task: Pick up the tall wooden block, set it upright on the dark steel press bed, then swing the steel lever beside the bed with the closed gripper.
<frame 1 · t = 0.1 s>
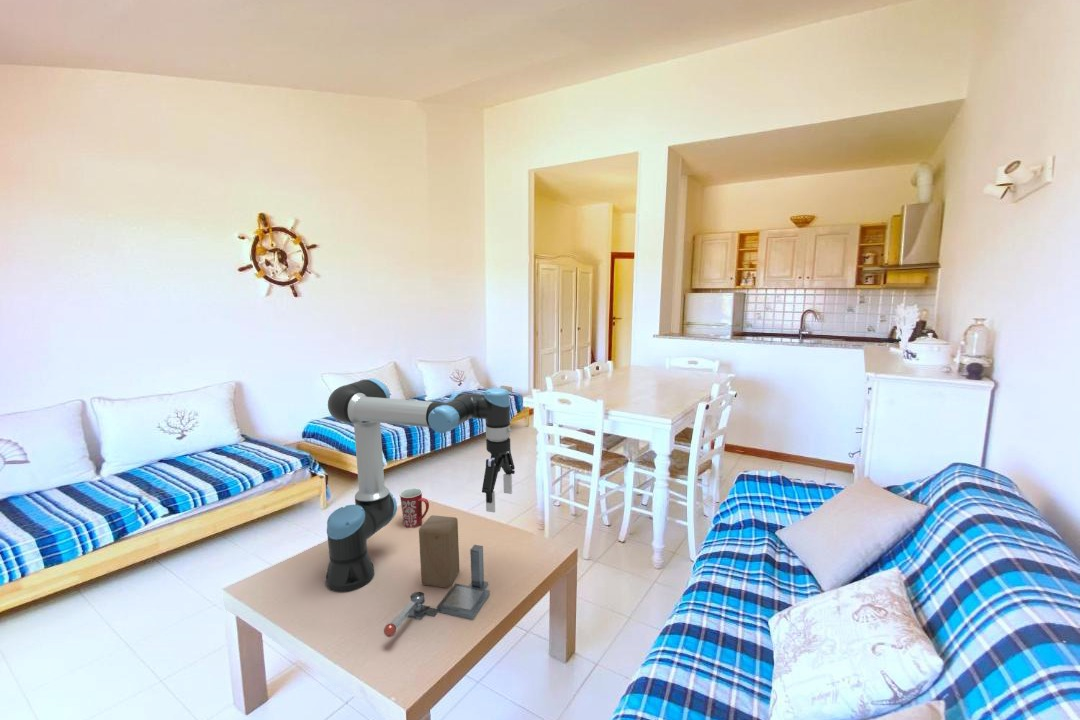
hand: (499, 501, 153), 28 cm above the table, fingers open, 13 cm apart
lever: (404, 613, 136), point 5 cm above the table, hinge at 0.0°
wooden block: (441, 578, 159), on the table
mug: (416, 524, 195), on the table
press bed: (463, 602, 147), on the table
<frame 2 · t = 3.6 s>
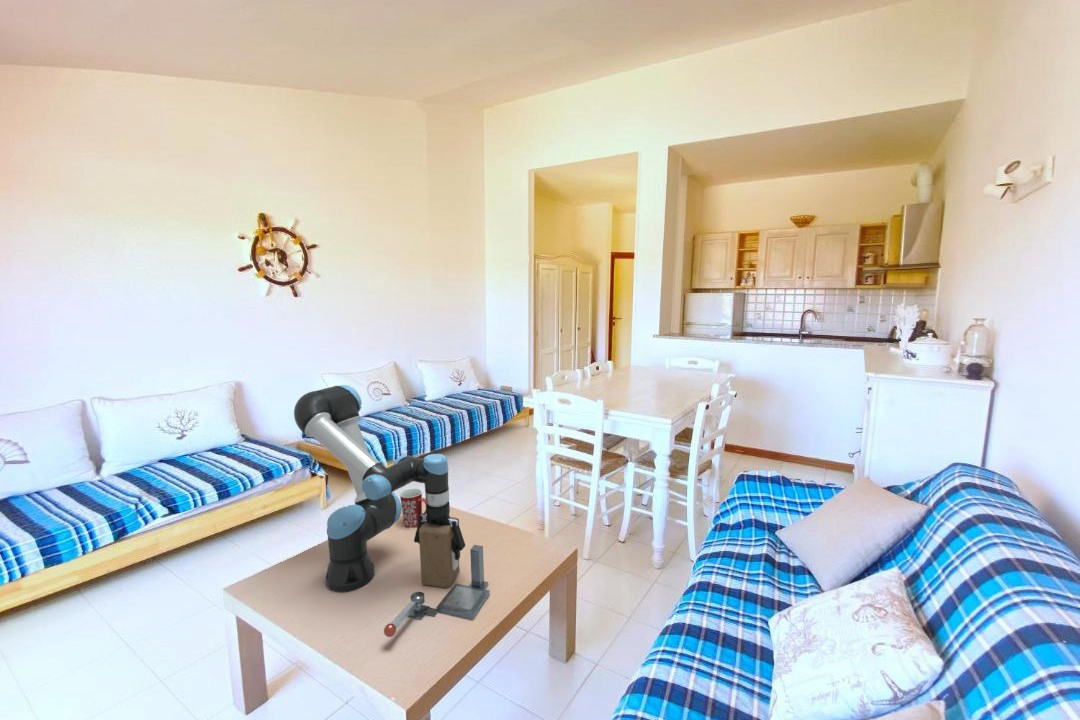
hand: (440, 564, 158), 5 cm above the table, fingers closed on wooden block, 10 cm apart
wooden block: (441, 578, 159), on the table, touching gripper
everything else where it was.
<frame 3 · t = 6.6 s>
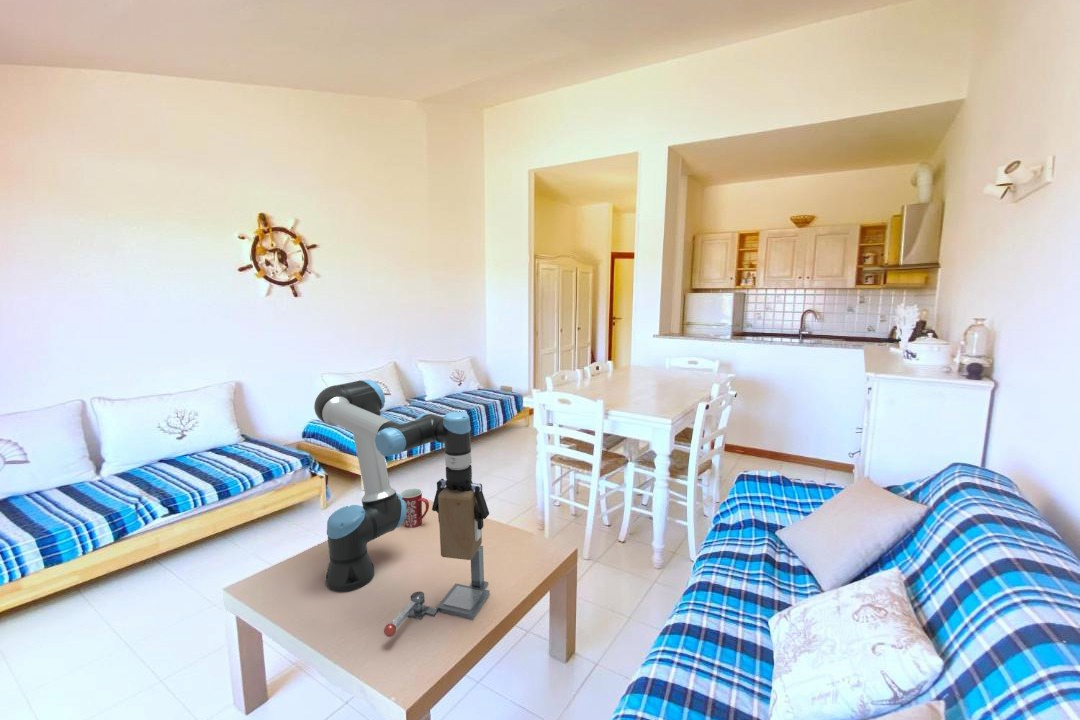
hand: (461, 535, 143), 22 cm above the table, fingers closed on wooden block, 10 cm apart
wooden block: (461, 551, 144), point 17 cm above the table, touching gripper
everything else where it was.
when the fingers open (8 cm above the table, at t = 9.7 s): wooden block moves 1 cm, resting on press bed.
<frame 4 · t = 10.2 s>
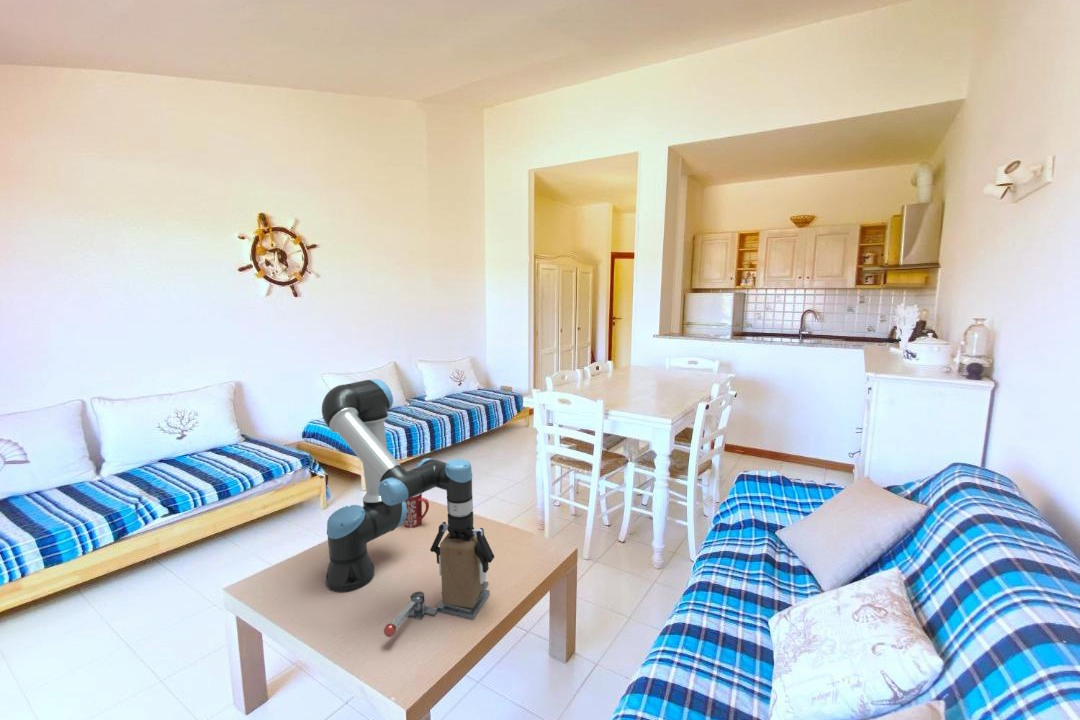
hand: (462, 577, 145), 9 cm above the table, fingers open, 13 cm apart
wooden block: (463, 597, 147), point 2 cm above the table, touching press bed
everything else where it was.
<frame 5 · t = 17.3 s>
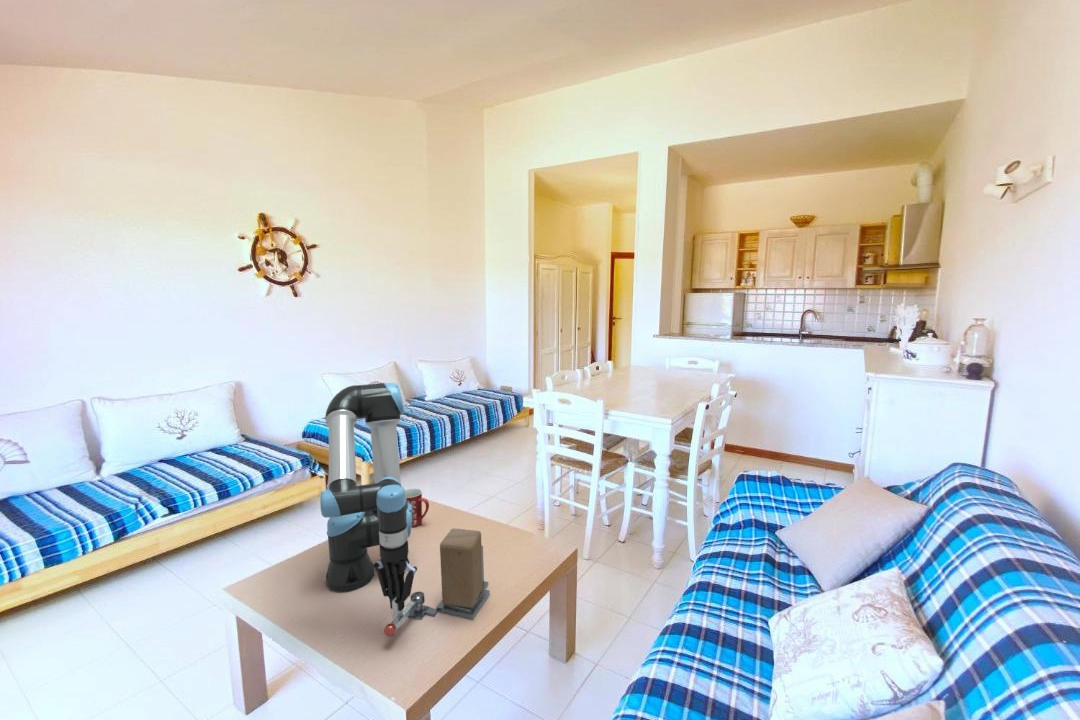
hand: (398, 619, 135), 3 cm above the table, fingers closed
lever: (404, 613, 136), point 4 cm above the table, hinge at 0.0°, touching gripper
everything else where it was.
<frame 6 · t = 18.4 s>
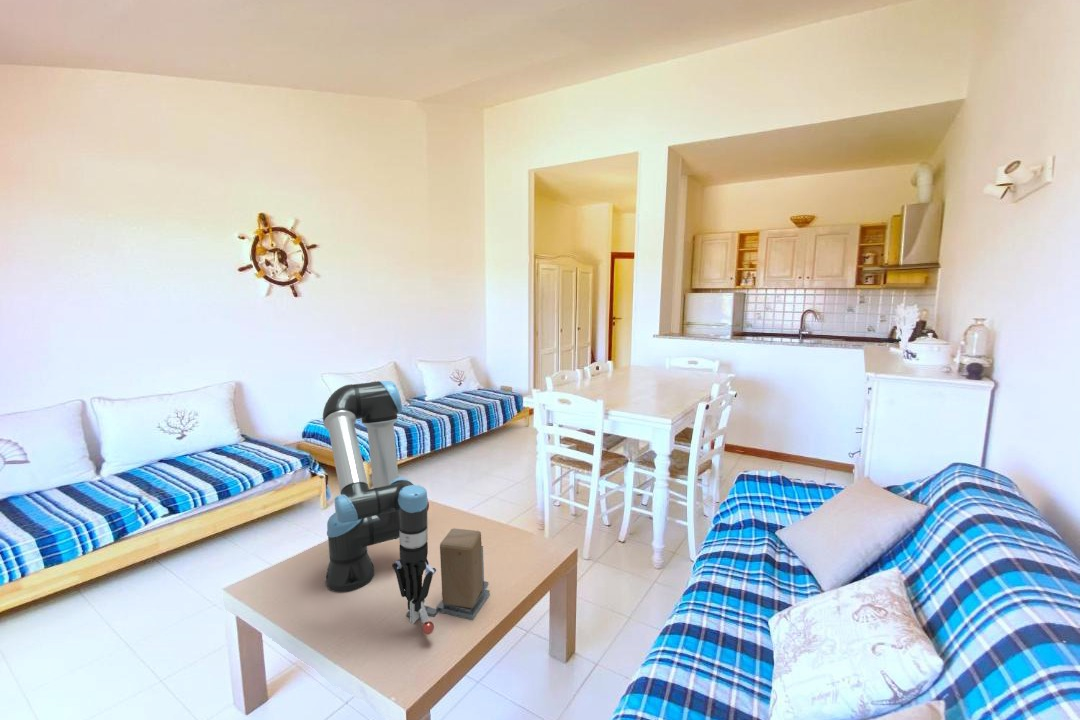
hand: (414, 620, 135), 3 cm above the table, fingers closed
lever: (422, 612, 136), point 5 cm above the table, hinge at 44.2°, touching gripper
everything else where it was.
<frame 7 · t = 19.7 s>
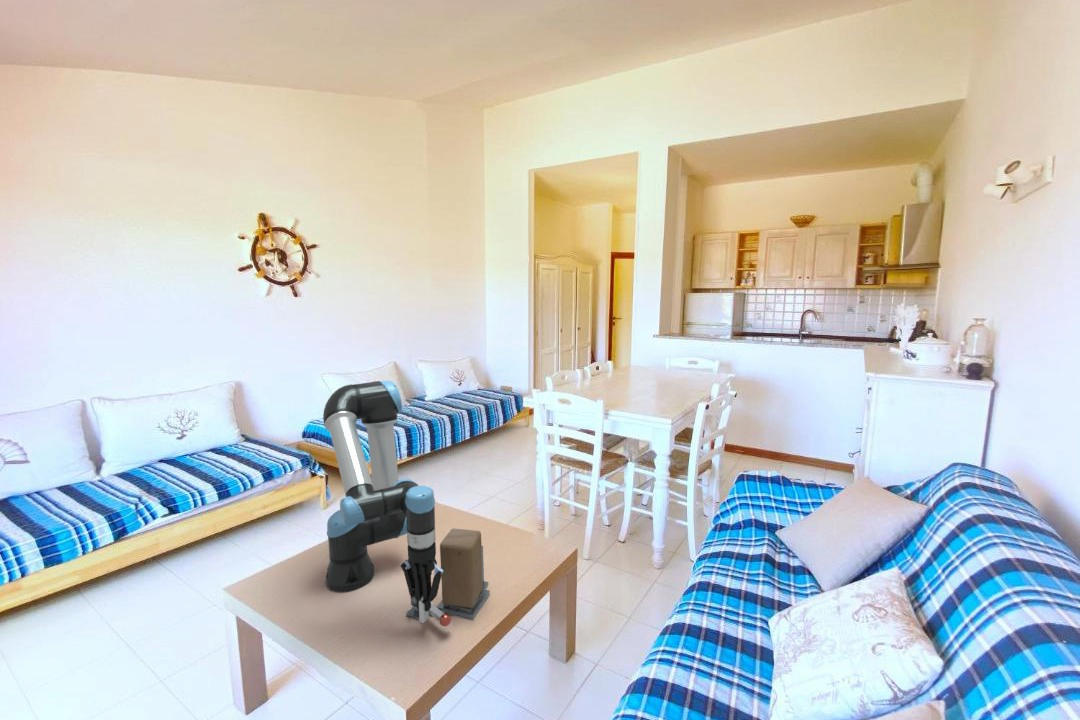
hand: (424, 619, 136), 3 cm above the table, fingers closed
lever: (430, 608, 138), point 4 cm above the table, hinge at 66.2°, touching gripper
everything else where it was.
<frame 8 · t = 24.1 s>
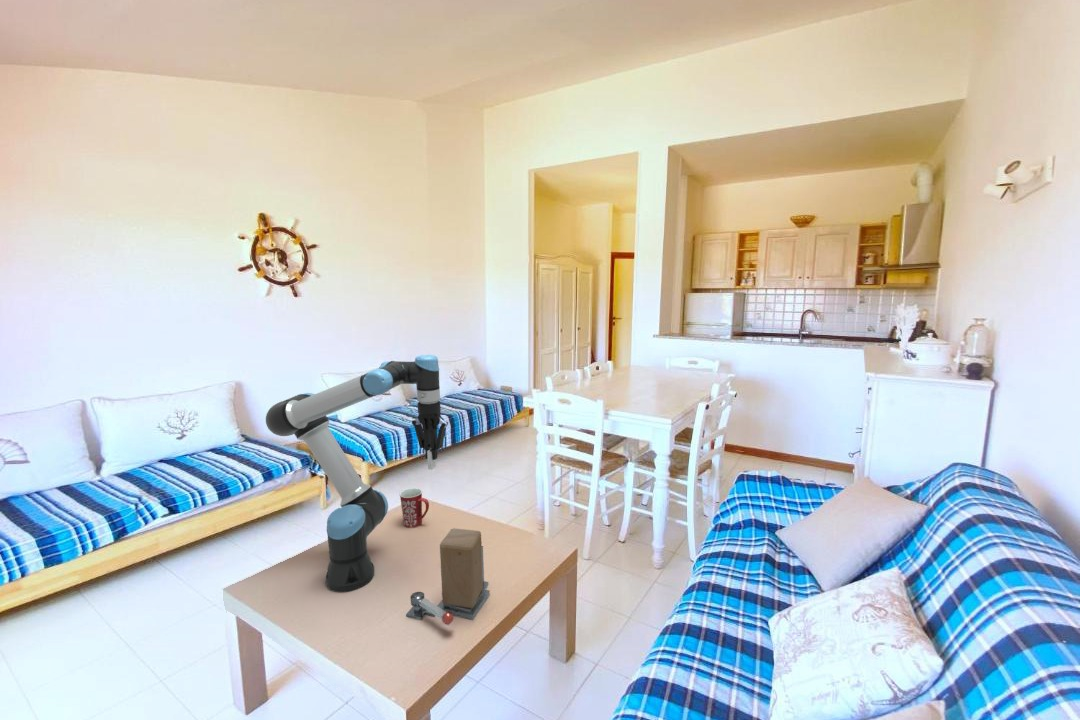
hand: (432, 467, 164), 34 cm above the table, fingers closed
lever: (431, 607, 138), point 4 cm above the table, hinge at 70.0°
everything else where it was.
at the end: wooden block 0.2 cm from the press bed (horizontally); wooden block tilted 0°; lever at +70° (first picture: +0°) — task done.
